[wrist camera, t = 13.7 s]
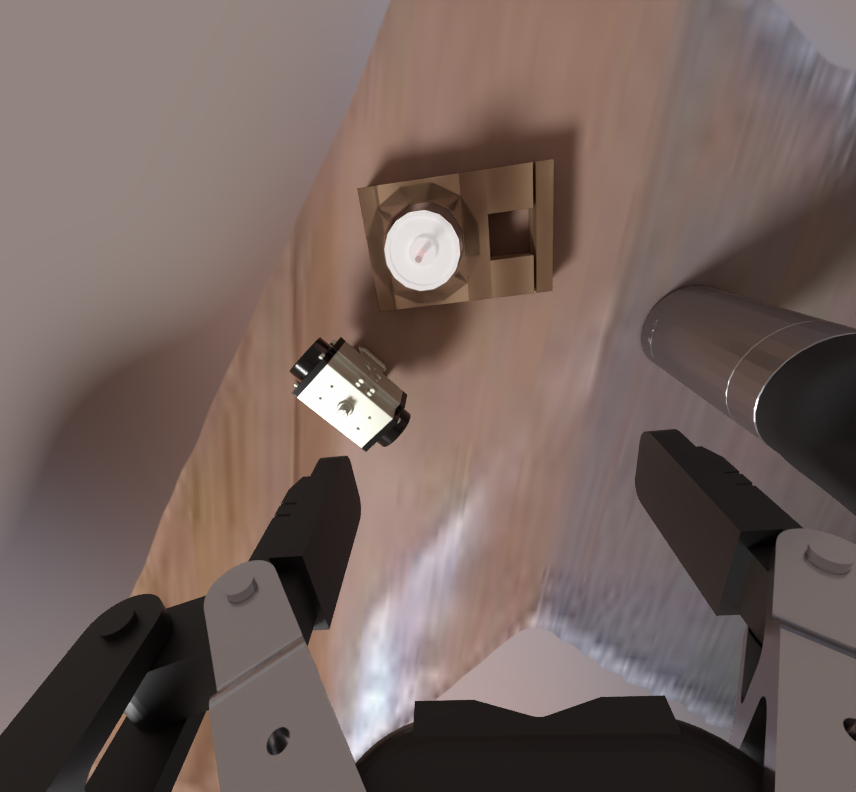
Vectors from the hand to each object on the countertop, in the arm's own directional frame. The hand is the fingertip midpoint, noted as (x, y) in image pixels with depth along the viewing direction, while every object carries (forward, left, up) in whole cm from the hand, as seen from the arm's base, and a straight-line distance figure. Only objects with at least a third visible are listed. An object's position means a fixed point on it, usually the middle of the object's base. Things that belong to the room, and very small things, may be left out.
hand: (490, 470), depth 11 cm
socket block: (0, -4, -33) cm, 33 cm away
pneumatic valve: (+11, +8, -33) cm, 36 cm away
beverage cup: (+3, -4, -33) cm, 33 cm away
